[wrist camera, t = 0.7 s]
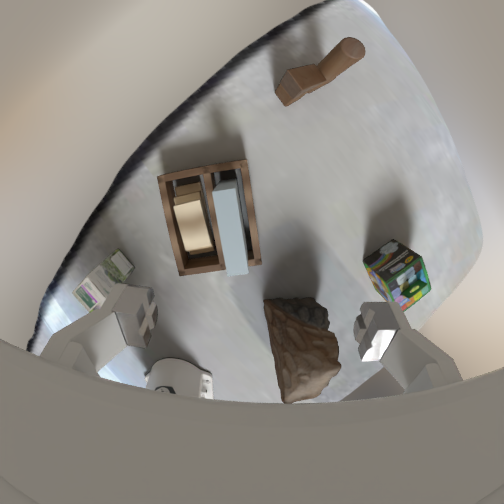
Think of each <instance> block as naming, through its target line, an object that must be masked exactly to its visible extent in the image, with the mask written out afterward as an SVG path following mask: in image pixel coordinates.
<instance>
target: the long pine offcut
mask: <svg viewBox="0 0 504 504" xmlns="http://www.w3.org/2000/svg"><path fill="white" fill-rule="evenodd" d="M175 191H176V196H179V195H184V194H188V193H192V192H196V191H201V194H202V198H203V203H204V207H205V211H206V216H207V220H208V224H209V228H210V232H211V227H210V223H209V218H208V213H207V208H206V204H205V199H204V194H203V189H202V184H201V181H200V182H195V183H190V184H186V185H181V186H177V187H175ZM211 237H212V232H211ZM212 241H213V237H212ZM214 249H215V246H214V241H213V245H212V247H208V248H203V249H198V250H193V251H190V255H193V254H199V253H205V252H210V251H214Z"/></svg>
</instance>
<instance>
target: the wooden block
mask: <svg viewBox="0 0 504 504" xmlns="http://www.w3.org/2000/svg"><path fill="white" fill-rule="evenodd" d="M364 56H365V47H364V45H363V44H362V43H361V42H360V41H359V40H357V39H355V38H352V37H347V38H344V39H342V40H341V41H340V42H339V43H338V44H337V45H336V46H335V47H334V48H333V49H332V50H331V51H330V53H329V54H328V55H327V56H326V57H325V58H324V59H323V60H322V61H321V62H320V63H319V64H318V65H317V66H316V65H315V64H311V65H306V66H302V67H297V68H293V69H289V70H287V71H286V73H285V74H284V76H283V78H282V79H281V81H280V84H279V86H278V87H277V89H276V91H275V94H276V95H277V96H278V98H279V99H280V100H281V102H282V103H283V105H284V106H289V105H290V104H292V103H294V102H295V101H297V100H299V99H300V98H301V97H303V96H304V95H305V94H306V93H311V92H313V91H315V90H316V89H318V88H320V87H322V86H324V85H326V84H328V83H329V82H331V81H332V80H334V79H335V78H336V76H338V75H339V74H341V73H342V72H343V71H345V70H346V69H348V68H349V67H350V66H352V65H353V64H355V63H356V62H358V61H359V60H361V59H362V58H363V57H364Z"/></svg>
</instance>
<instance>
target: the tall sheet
mask: <svg viewBox="0 0 504 504" xmlns="http://www.w3.org/2000/svg"><path fill="white" fill-rule="evenodd" d="M212 194H213V200H214V206H215V211H216V217H217V223H218V228H219V234H220V239H221V244H222V250H223V255H224V260H225V265H226V270H227V276H235V275H242V274H249V269H248V255H247V241H246V234H245V228H244V222H243V215H242V209H241V202H240V196H239V189H238V183H237V178H235V179H229V180H223V181H220V182H219V183H218V185H217V186H216V187H215V189H214V190H213V191H212Z"/></svg>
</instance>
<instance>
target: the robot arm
mask: <svg viewBox="0 0 504 504" xmlns="http://www.w3.org/2000/svg"><path fill="white" fill-rule="evenodd" d="M154 296H155V295H154V291H153V289H152V288H150V287H143V286H136V285H130V284H129V285H128V284H122V283H117V284H115V285H114V287H113V289H112V290H111V292H110V293H109V295H108V296H107V298H106V300H105V301H104V303H103V305H102V306H101V308H100V309H95V310H94V311H92V312H90V313H88V314H87V315H85V316H83V317H82V318H80V319H78V320H76V321H75V322H73V323H71V324H70V325H68V326H66V327H64V328H63V329H61V330H59V331H58V332H56V333H54V334H53V335H52V336H51V338H50V340H49V341H48V343H47V345H46V346H45V348H44V350H43V351H42V353H41V355H40V357H39V356H37V355H35V354H32V353H30V352H28V351H25V350H23V349H21V348H19V347H16V346H14V345H12V344H10V343H8V342H6V341H4V340H2V339H0V504H504V367H503V368H500V369H497V370H495V371H492V372H489V373H486V374H483V375H480V376H477V377H474V378H470V379H467V380H463V379H462V377H461V375H460V373H459V371H458V368H457V366H456V364H455V362H454V360H453V358H451V357H450V356H449V355H448V354H446V353H445V352H444V351H443V350H441V349H440V348H439V347H437V346H436V345H435V344H434V343H432V342H431V341H430V340H428V339H427V338H426V337H424V336H423V335H422V334H421V333H419V332H418V331H417V330H415V329H411V326H410V324H409V322H408V320H407V318H406V316H405V314H404V312H403V311H402V309H401V307H400V305H399V303H398V302H364V303H363V304H362V305H361V308H360V311H361V314H360V315H359V316H358V317H356V320H355V323H354V329H353V331H354V337H355V340H356V341H357V342H358V343H359V344H360V345H359V347H358V351H359V355H360V358H361V361H378V360H380V362H381V364H382V365H383V366H384V367H385V368H386V369H387V370H388V371H389V372H390V373H391V375H392V376H393V377H394V378H395V379H396V380H397V381H398V382H399V384H400V385H401V386H402V387H403V388H404V389H405V391H404V393H403V394H401V395H395V396H388V397H381V398H374V399H365V400H355V401H343V402H328V403H298V404H282V403H251V402H236V401H225V400H215V399H214V396H213V380H212V375H211V374H210V373H208V372H205V371H202V370H200V369H198V368H197V367H196V366H194V365H193V364H191V363H189V362H186V361H184V360H180V359H174V358H167V359H162V360H159V361H157V362H156V363H155V364H154V365H153V366H152V369H151V371H150V372H149V373H148V374H147V375H146V376H145V381H146V382H147V386H146V389H145V388H141V387H136V386H132V385H127V384H123V383H119V382H115V381H112V380H108V379H104V378H101V377H100V376H99V374H98V371H99V370H100V369H101V368H103V367H104V366H105V365H106V364H107V363H108V362H109V361H111V360H112V359H113V358H114V357H115V356H116V355H118V354H119V353H120V352H121V351H122V350H123V349H125V348H126V347H127V345H129V346H135V347H141V348H147V346H148V343H149V340H150V338H151V333H150V330H151V329H153V328H154V327H155V324H156V322H157V315H158V314H157V305H156V304H155V302H154V301H153V298H154Z"/></svg>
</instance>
